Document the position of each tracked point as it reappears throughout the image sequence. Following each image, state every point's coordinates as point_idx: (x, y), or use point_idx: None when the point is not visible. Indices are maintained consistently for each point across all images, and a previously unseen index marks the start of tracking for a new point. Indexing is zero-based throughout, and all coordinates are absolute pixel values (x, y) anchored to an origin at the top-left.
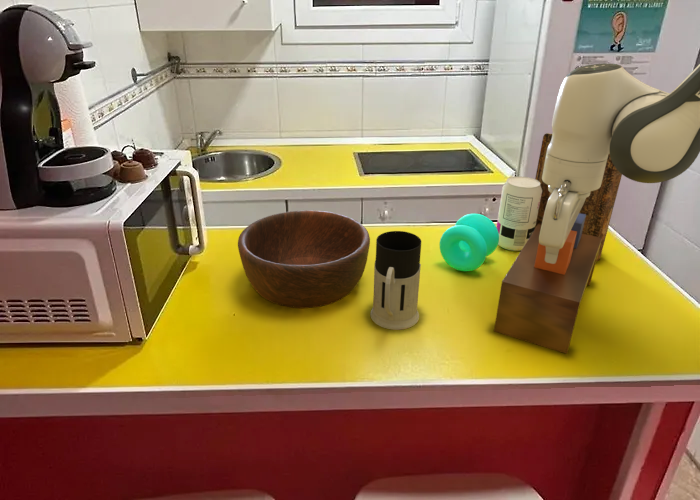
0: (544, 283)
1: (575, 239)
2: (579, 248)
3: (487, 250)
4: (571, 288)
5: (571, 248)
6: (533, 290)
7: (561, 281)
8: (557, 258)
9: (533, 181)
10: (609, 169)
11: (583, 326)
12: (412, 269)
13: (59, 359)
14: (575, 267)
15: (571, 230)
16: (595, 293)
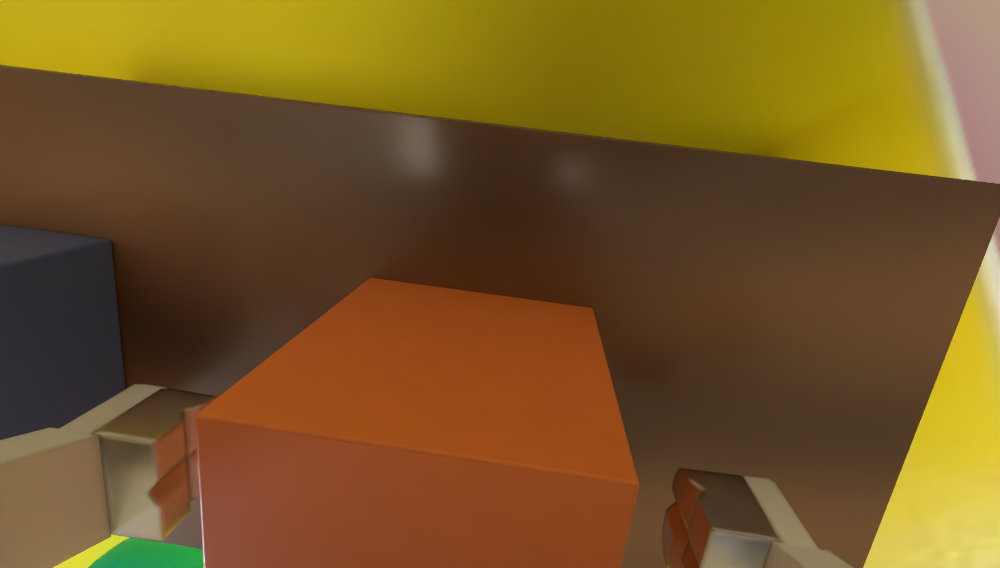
0: (775, 430)
1: (41, 279)
2: (91, 215)
3: (183, 565)
4: (795, 253)
5: (511, 389)
6: (889, 486)
7: (705, 324)
8: (707, 479)
9: None
10: None
11: (537, 102)
12: None
13: None
14: (434, 235)
15: (205, 483)
16: (218, 57)
